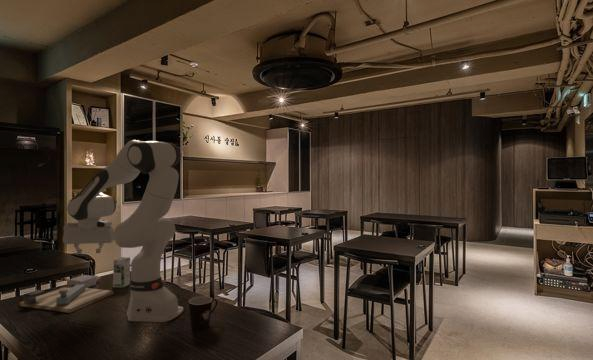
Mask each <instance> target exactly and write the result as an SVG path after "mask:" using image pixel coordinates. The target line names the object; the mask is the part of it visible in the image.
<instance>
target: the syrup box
mask: <svg viewBox="0 0 593 360" xmlns="http://www.w3.org/2000/svg"><path fill="white" fill-rule="evenodd" d="M112 266H113V270H112V271H113V272H112V273H113V276H112V277H113V278H112V279H113V280H112V282H113V283H112V287H113V288H119V289H120V288H121V289H123V288H126V287H127V286H130V285H129V284H130V279H131V256H128V257H127V256H119V257H118V256H117V257H115V258H113V265H112Z"/></svg>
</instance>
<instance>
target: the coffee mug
mask: <svg viewBox="0 0 593 360" xmlns="http://www.w3.org/2000/svg"><path fill="white" fill-rule="evenodd" d="M213 301H214V302H215V305H214V307H213V308H212V304H213ZM217 305H218V300H217V299H216V298H212V297H210V296H206V295H205V296H204V295H203V296H196V297H195V296H194V297H192V298H191V299H189V300H188V308H189V309H188V310H189V317H190V325H191V326H190V328H191V330H192V331H196V332H198V331H199V332H200V331H204V330H207V329H208V328H209V327H210V320H211V315H212V313H213V312H214V311H215V309H216V308H217Z"/></svg>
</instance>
